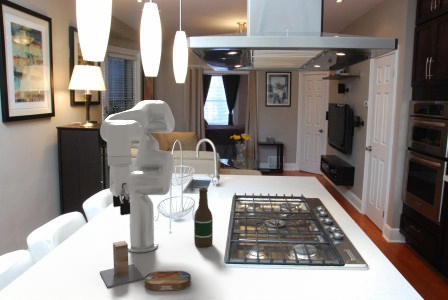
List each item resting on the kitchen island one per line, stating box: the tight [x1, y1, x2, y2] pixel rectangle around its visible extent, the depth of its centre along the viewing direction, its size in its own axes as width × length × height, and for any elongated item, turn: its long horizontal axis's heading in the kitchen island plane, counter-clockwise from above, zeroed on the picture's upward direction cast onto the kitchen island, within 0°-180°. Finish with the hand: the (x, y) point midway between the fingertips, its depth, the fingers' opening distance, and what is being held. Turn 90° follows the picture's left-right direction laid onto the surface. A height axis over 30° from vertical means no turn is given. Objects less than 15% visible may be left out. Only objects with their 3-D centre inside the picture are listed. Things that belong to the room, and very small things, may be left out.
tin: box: [143, 270, 192, 292], centre depth 119 cm, size 15×3×8 cm
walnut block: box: [112, 240, 130, 278], centre depth 124 cm, size 4×4×11 cm
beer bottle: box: [193, 187, 214, 249], centre depth 151 cm, size 8×8×24 cm
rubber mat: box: [99, 263, 145, 289], centre depth 125 cm, size 12×12×1 cm
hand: (121, 210), depth 123 cm, fingers open, 9 cm apart
